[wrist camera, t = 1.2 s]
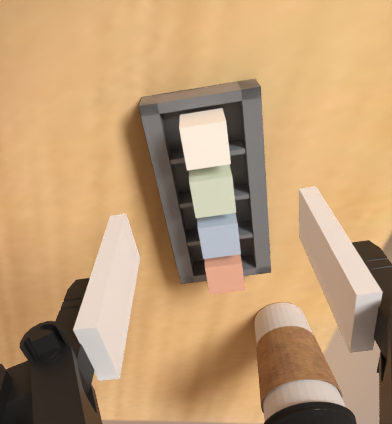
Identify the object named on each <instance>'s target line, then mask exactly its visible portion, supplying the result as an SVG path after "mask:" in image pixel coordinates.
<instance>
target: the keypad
mask: <svg viewBox="0 0 392 424" xmlns="http://www.w3.org/2000/svg"><path fill="white" fill-rule="evenodd" d="M138 107H139V111H140V115H141V119H142V123H143V127H144V132H145V136H146V140H147V144H148V148H149V153H150V157H151V161H152V165H153V169H154V173H155V178H156V182H157V186H158V190H159V194H160V198H161V203H162V207H163V211H164V215H165V219H166V224H167V228H168V232H169V236H170V240H171V244H172V249H173V253H174V257H175V261H176V265H177V269H178V274H179V278H180V282H181V284H186V283H193V282H201V281H207V276H206V271H205V260H204V259H203V255H202V249H201V244H200V238H199V233H198V224H197V218H196V217H195V211H194V206H193V201H192V195H191V190H190V184H189V170H188V171H187V168H186V163H185V157H184V152H183V146H182V141H181V136H180V130H179V122H180V115H181V114H188V113H194V112H200V111H206V110H213V109H219V108H223V112H224V115H225V119H226V125H227V134H228V143H229V152H230V161H231V164H230V169H231V173H232V178H233V187H234V196H235V205H236V213H235V214H236V218H237V223H238V232H239V241H240V250H241V254H240V256H241V261H242V268H243V276H248V275H255V274H263V273H271V262H270V244H269V226H268V208H267V190H266V173H265V155H264V137H263V119H262V101H261V86H260V85H259V83H258V82H257V81H256V79H250V80H244V81H238V82H232V83H226V84H220V85H214V86H207V87H201V88H195V89H189V90H183V91H177V92H171V93H165V94H158V95H152V96H146V97H142V98H141V101H140V104H139V106H138Z"/></svg>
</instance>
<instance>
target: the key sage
mask: <svg viewBox="0 0 392 424" xmlns="http://www.w3.org/2000/svg"><path fill="white" fill-rule="evenodd" d="M189 184H190V190H191V195H192V201H193V206H194V211H195V217H196V218H202V217H209V216H216V215H224V214H231V213H236V205H235V196H234V187H233V178H232V173H231V169H230V164H228V165H221V166H215V167H208V168H201V169H195V170H189Z"/></svg>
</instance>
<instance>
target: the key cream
mask: <svg viewBox="0 0 392 424" xmlns="http://www.w3.org/2000/svg"><path fill="white" fill-rule="evenodd" d="M179 130H180V136H181V141H182V146H183V152H184V157H185V163H186V168H187V171H188V170H195V169H201V168H208V167H215V166H221V165H228V164H231V161H230V152H229V143H228V134H227V125H226V119H225V115H224V112H223V108H219V109H213V110H206V111H200V112H194V113H188V114H181V115H180V122H179Z"/></svg>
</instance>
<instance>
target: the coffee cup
mask: <svg viewBox="0 0 392 424" xmlns="http://www.w3.org/2000/svg"><path fill="white" fill-rule="evenodd" d="M254 326H255V335H256V344H257V361H258V373H259V386H260V399H261V408H262V411H263V413H264V418H265V423H264V424H356V419H355V416H354V414H353V413H352V412H351V411H350V410H349V409H347V408H346V406H345V404H344V402H343V400H342V393H341V390H340V388H339V386H338V384H337V382H336V380H335V378H334V376H333V374H332V372H331V370H330V367H329V365H328V363H327V362H326V359H325V357H324V355H323V353H322V351H321V349H320V347H319V345H318V343H317V341H316V339H315V337H314V335H313V333H312V331H311V329H310V326H309V324H308V322H307V320H306V318H305V315H304V313H303V312H302V310H301V309H300V308H299V307H298V306H296V305H294V304H291V303H274V304H271V305H268V306H266V307H264V308H263V309H261V310H260V311H259V312H258V314H257V315H256V317H255V320H254Z"/></svg>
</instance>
